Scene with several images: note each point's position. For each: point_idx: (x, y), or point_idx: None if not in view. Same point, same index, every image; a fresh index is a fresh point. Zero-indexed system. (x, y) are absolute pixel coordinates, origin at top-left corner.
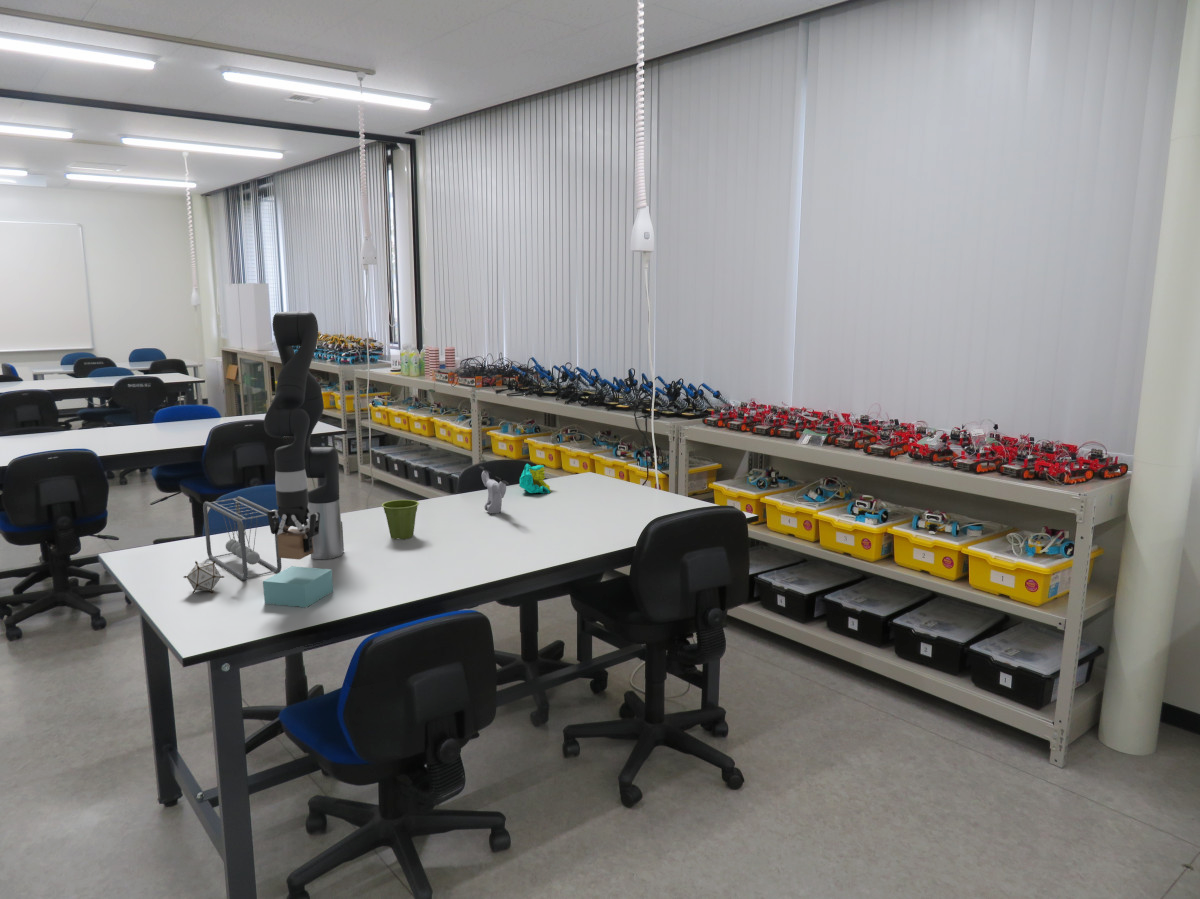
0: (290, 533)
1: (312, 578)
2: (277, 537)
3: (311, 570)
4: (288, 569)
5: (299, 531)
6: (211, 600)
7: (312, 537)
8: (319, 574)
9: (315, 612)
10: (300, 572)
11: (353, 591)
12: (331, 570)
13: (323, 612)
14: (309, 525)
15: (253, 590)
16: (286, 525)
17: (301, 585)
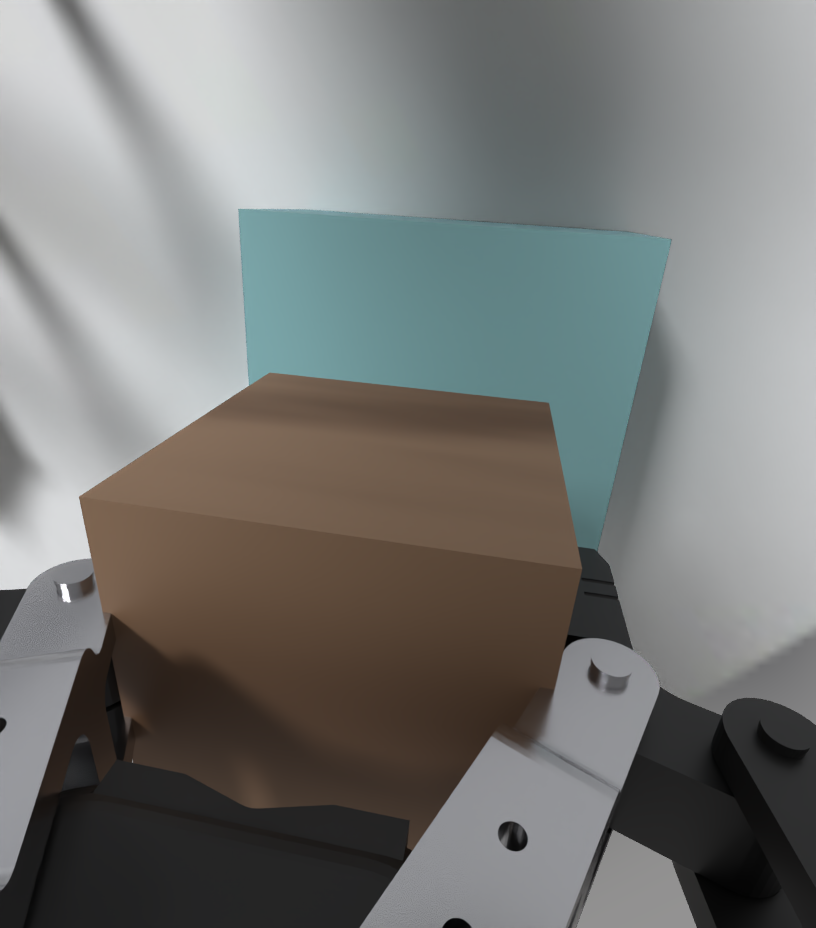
0: (277, 758)
1: (581, 482)
2: None
3: (479, 296)
4: (270, 305)
5: (356, 658)
6: (36, 472)
7: (567, 496)
8: (601, 387)
9: (648, 572)
10: (411, 362)
11: (798, 203)
12: (669, 246)
13: (695, 569)
14: (608, 809)
15: (110, 306)
16: (67, 788)
17: None
